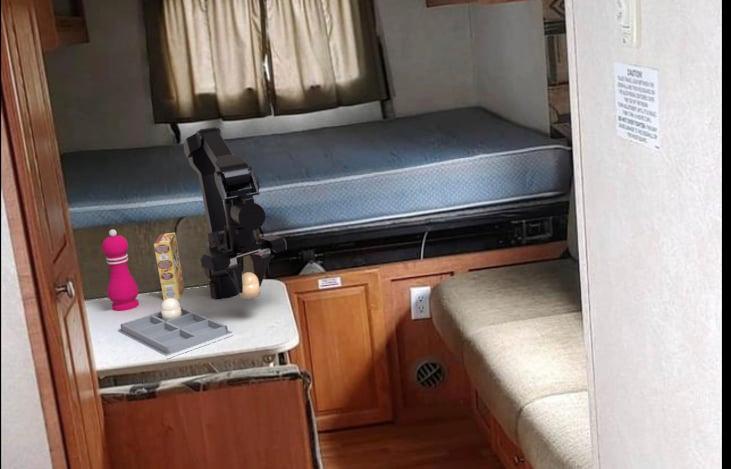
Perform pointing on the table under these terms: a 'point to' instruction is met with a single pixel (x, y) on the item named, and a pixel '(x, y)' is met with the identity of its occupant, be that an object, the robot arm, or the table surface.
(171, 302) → the cream egg
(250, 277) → the beige rounded piece
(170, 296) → the candy box
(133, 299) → the pepper mill
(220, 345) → the table surface
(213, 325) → the grey compartment tray
